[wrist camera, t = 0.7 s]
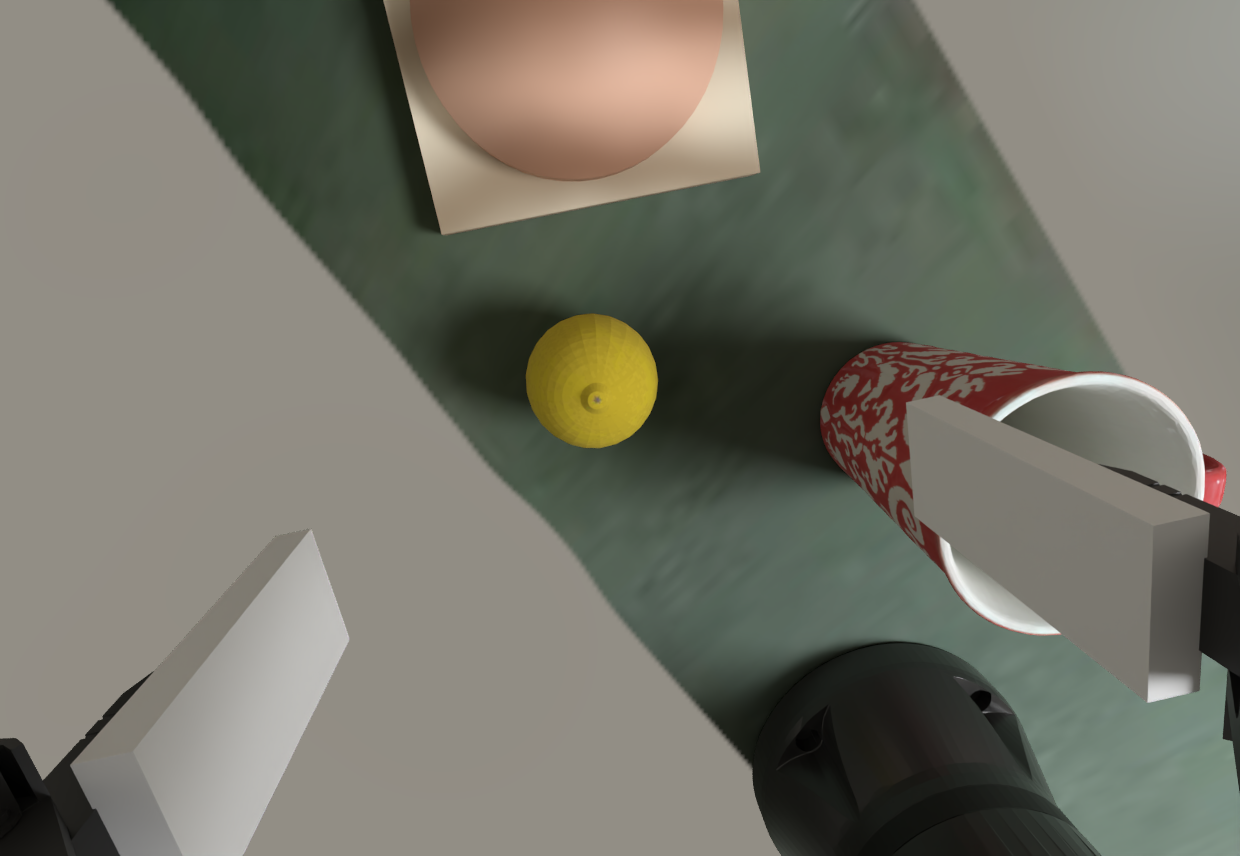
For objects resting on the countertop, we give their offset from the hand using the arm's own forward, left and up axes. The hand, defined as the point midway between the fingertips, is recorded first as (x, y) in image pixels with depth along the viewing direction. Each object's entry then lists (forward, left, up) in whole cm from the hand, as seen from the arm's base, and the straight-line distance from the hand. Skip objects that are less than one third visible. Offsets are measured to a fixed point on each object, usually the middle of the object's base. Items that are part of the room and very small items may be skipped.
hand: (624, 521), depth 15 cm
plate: (+14, -2, -19) cm, 24 cm away
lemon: (0, 0, -19) cm, 19 cm away
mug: (-6, -16, -19) cm, 26 cm away
